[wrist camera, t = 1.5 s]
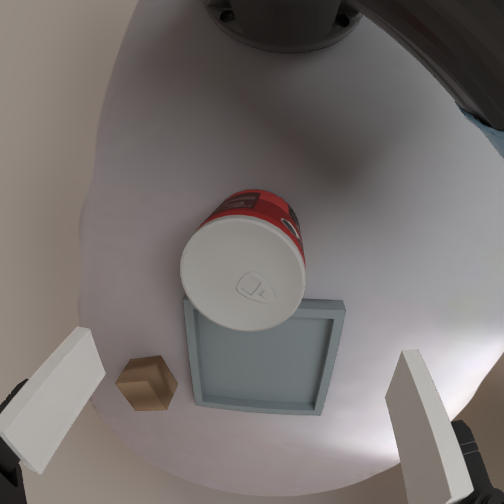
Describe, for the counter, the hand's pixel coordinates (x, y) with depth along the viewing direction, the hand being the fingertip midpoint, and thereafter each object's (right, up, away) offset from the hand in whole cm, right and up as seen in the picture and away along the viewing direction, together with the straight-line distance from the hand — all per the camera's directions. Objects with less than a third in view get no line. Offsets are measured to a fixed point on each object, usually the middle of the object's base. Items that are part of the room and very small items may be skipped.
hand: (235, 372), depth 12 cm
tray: (+2, -7, +22) cm, 24 cm away
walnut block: (-12, -11, +26) cm, 30 cm away
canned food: (+1, +7, +17) cm, 19 cm away
